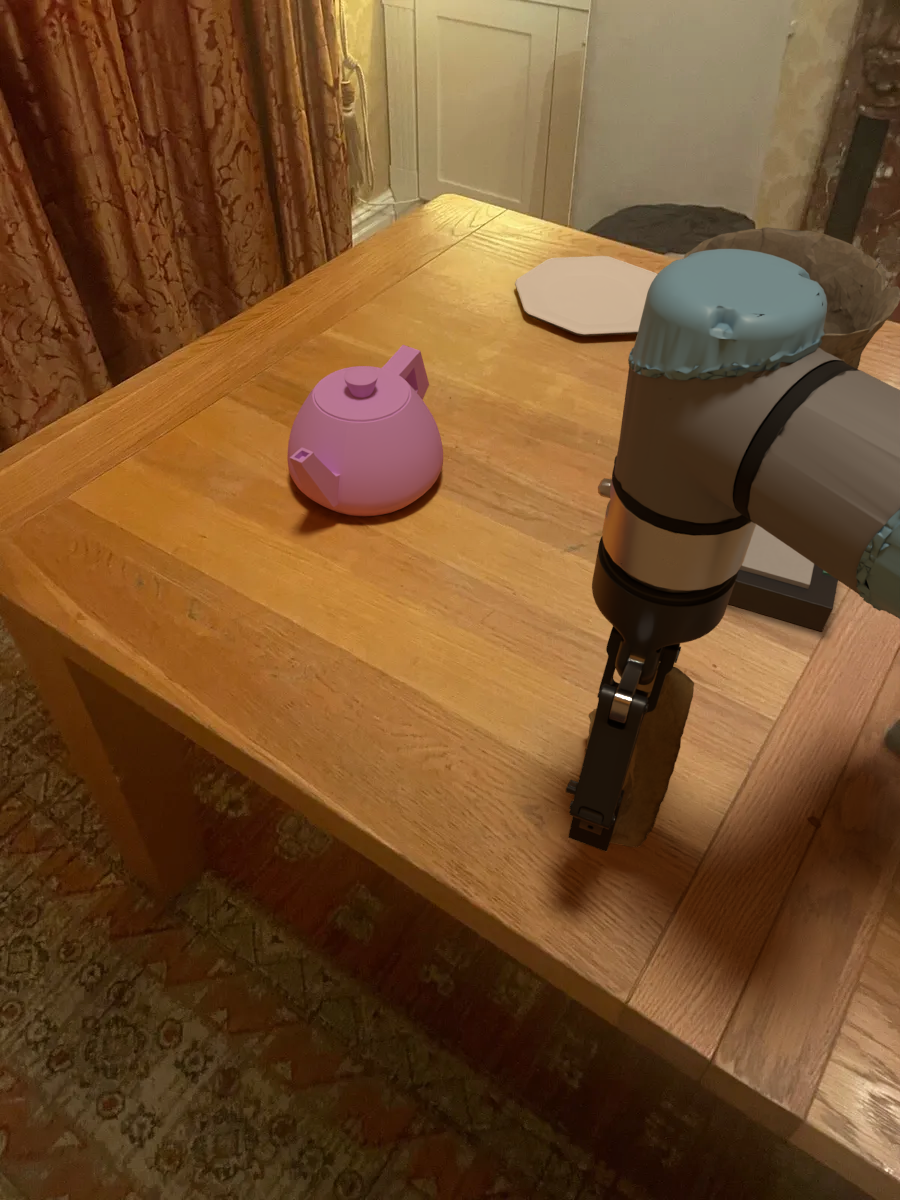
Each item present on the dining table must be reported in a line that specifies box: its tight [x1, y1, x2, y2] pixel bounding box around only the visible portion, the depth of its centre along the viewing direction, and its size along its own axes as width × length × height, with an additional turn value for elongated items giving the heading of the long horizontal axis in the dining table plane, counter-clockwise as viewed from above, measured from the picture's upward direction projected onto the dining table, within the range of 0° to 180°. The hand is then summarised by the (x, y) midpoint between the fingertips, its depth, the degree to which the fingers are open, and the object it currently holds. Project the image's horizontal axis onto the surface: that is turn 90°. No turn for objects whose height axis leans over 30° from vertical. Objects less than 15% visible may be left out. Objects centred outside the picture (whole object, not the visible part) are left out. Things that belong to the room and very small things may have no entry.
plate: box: [514, 255, 658, 337], centre depth 118 cm, size 20×20×2 cm
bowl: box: [683, 226, 900, 370], centre depth 99 cm, size 22×22×15 cm
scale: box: [728, 524, 839, 632], centre depth 85 cm, size 16×16×4 cm
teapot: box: [286, 344, 444, 517], centre depth 89 cm, size 22×16×12 cm
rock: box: [584, 666, 695, 849], centre depth 62 cm, size 11×9×10 cm
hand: (611, 775), depth 65 cm, fingers closed on rock, 10 cm apart
